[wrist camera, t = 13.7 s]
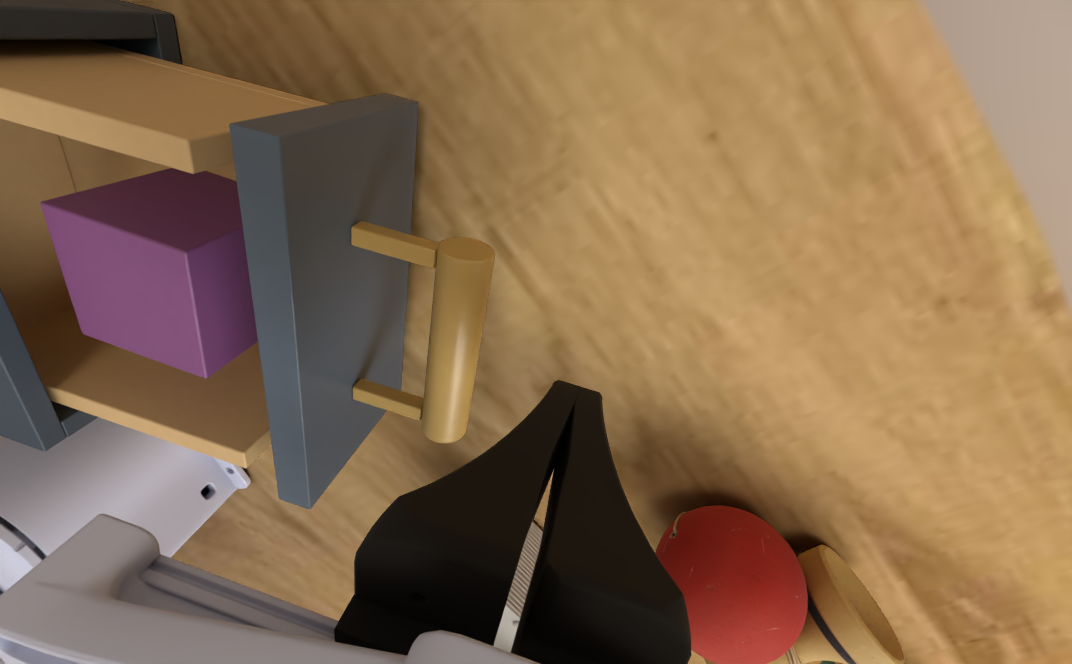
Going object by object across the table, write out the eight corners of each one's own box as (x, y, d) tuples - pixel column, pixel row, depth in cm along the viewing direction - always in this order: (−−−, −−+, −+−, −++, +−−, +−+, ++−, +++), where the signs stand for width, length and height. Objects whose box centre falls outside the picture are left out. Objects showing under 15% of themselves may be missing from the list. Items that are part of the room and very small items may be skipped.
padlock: (589, 586, 28) (552, 818, 20) (529, 593, 30) (472, 810, 21) (526, 499, 26) (455, 722, 17) (465, 512, 27) (373, 721, 19)
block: (185, 163, 18) (37, 201, 14) (301, 201, 18) (184, 251, 14) (201, 273, 21) (80, 334, 16) (303, 309, 20) (206, 380, 16)
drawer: (543, 133, 16) (468, 189, 10) (488, 420, 22) (424, 550, 17) (34, 1, 18) (-274, -16, 12) (124, 303, 24) (-46, 384, 18)
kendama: (984, 642, 25) (766, 457, 19) (1043, 813, 21) (781, 636, 15) (829, 647, 30) (620, 501, 24) (849, 785, 26) (600, 645, 20)
